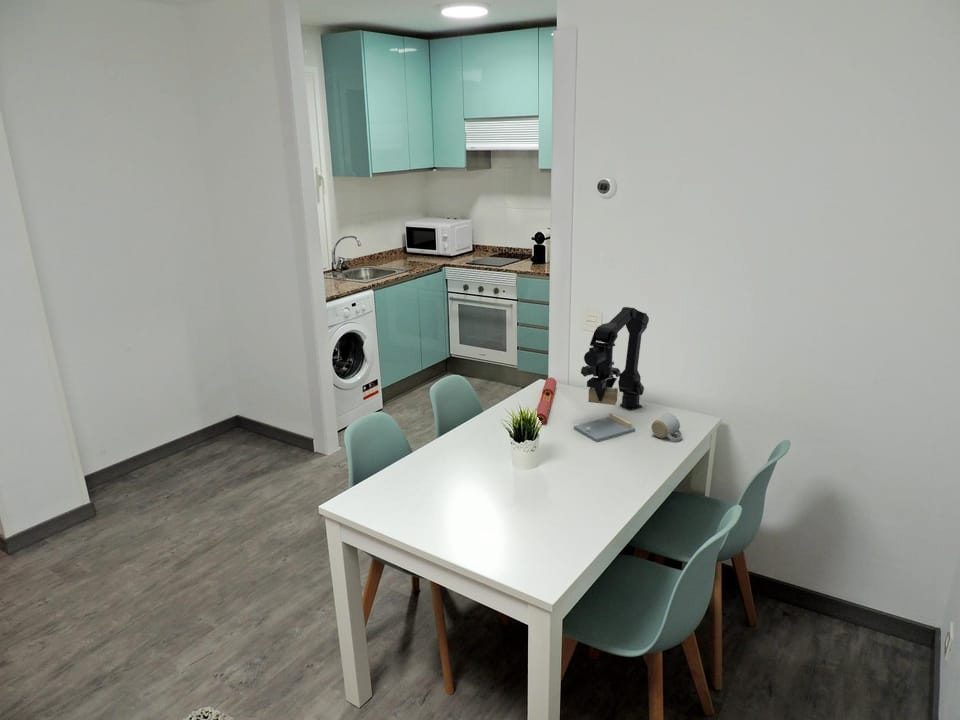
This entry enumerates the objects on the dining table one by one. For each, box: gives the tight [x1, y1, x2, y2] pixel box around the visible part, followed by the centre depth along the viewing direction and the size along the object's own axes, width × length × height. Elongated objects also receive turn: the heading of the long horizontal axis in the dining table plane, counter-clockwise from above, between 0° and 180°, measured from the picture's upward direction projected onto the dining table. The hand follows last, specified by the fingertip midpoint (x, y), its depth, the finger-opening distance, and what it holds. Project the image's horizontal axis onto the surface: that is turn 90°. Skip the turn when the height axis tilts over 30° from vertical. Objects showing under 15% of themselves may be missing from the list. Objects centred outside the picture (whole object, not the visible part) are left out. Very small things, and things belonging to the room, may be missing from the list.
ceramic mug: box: [651, 412, 683, 442], centre depth 241 cm, size 11×8×8 cm
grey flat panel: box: [573, 412, 636, 443], centre depth 249 cm, size 18×14×3 cm
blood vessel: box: [536, 377, 558, 425], centre depth 275 cm, size 42×5×5 cm, turn 169°
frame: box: [587, 387, 619, 406], centre depth 250 cm, size 5×10×5 cm, turn 68°
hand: (603, 398), depth 251 cm, fingers closed on frame, 5 cm apart
